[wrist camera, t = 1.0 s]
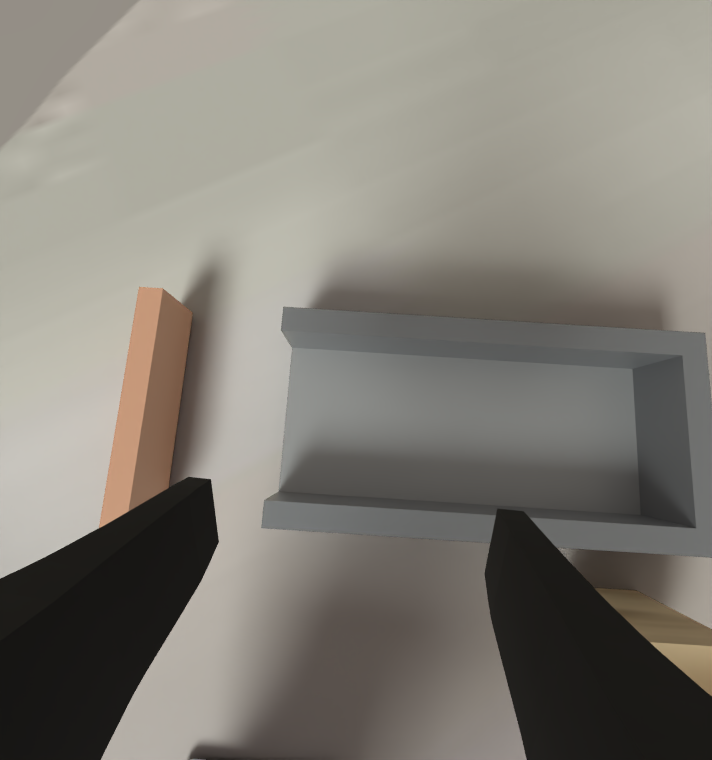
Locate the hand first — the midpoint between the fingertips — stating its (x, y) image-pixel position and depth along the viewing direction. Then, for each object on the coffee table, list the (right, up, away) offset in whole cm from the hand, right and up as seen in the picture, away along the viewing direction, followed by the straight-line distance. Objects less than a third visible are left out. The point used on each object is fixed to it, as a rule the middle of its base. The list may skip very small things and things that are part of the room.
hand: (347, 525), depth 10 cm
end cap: (-10, +2, +12) cm, 16 cm away
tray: (+7, +1, +12) cm, 14 cm away
